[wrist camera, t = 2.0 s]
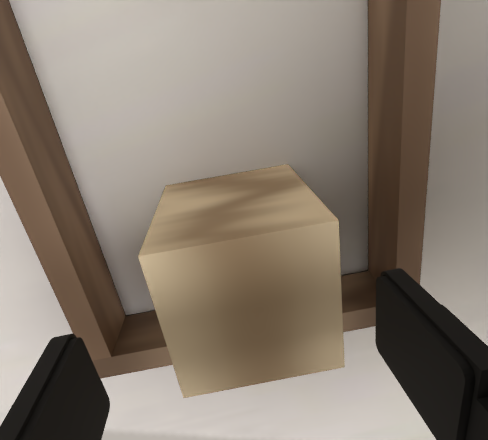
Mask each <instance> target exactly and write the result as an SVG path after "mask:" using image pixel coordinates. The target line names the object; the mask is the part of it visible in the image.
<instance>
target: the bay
mask: <svg viewBox="0 0 488 440" xmlns="http://www.w3.org/2000/svg"><path fill="white" fill-rule="evenodd" d="M440 6H441V0H368V271H365V272H360V273H354V274H349V275H344V276H341V292H342V318H343V332H346V331H352V330H357V329H362V328H367V327H373V326H376V279H377V277H380V276H381V272H383V271H387V270H392V269H397V268H401V269H403V270H404V271H405V272H406V273H407V274H408V275H409V276H410V277H412V278H413V279H414V280H415V281H416V282H417V283H418V284H419V285H420V274H421V261H422V247H423V234H424V221H425V207H426V194H427V180H428V167H429V153H430V140H431V126H432V113H433V100H434V86H435V73H436V59H437V46H438V32H439V19H440ZM0 176H1V178H2V181H3V183H4V185H5V187H6V189H7V191H8V194H9V196H10V198H11V200H12V202H13V204H14V206H15V209H16V211H17V213H18V215H19V217H20V219H21V222H22V224H23V226H24V228H25V230H26V232H27V235H28V237H29V239H30V241H31V243H32V245H33V247H34V250H35V252H36V254H37V256H38V258H39V260H40V263H41V265H42V267H43V269H44V271H45V273H46V276H47V278H48V280H49V282H50V284H51V286H52V289H53V291H54V293H55V295H56V297H57V299H58V301H59V304H60V306H61V308H62V310H63V312H64V314H65V317H66V319H67V321H68V323H69V325H70V327H71V330H72V332H73V334H74V335H76V337H77V338H78V337H81V338H82V339H83V341H84V343H85V346H86V348H87V350H88V352H89V355H90V357H91V359H92V361H93V364H94V366H95V368H96V370H97V373H98V375H99V377H100V378H105V377H110V376H116V375H121V374H126V373H131V372H137V371H142V370H147V369H152V368H158V367H163V366H168V365H173V363H172V360H171V357H170V354H169V351H168V348H167V345H166V342H165V339H164V336H163V332H162V329H161V326H160V323H159V320H158V317H157V314H156V311H150V312H144V313H139V314H133V315H128V316H125V313H124V310H123V308H122V305H121V302H120V300H119V297H118V294H117V292H116V289H115V286H114V284H113V281H112V278H111V275H110V273H109V270H108V267H107V265H106V262H105V259H104V257H103V254H102V251H101V249H100V246H99V243H98V240H97V238H96V235H95V232H94V230H93V227H92V224H91V222H90V219H89V216H88V213H87V211H86V208H85V205H84V203H83V200H82V197H81V195H80V192H79V189H78V187H77V184H76V181H75V178H74V176H73V173H72V170H71V168H70V165H69V162H68V160H67V157H66V154H65V152H64V149H63V146H62V143H61V141H60V138H59V135H58V133H57V130H56V127H55V125H54V122H53V119H52V116H51V114H50V111H49V108H48V106H47V103H46V100H45V98H44V95H43V92H42V90H41V87H40V84H39V81H38V79H37V76H36V73H35V71H34V68H33V65H32V63H31V60H30V57H29V54H28V52H27V49H26V46H25V44H24V41H23V38H22V36H21V33H20V30H19V28H18V25H17V22H16V19H15V17H14V14H13V11H12V9H11V6H10V3H9V1H8V0H0Z"/></svg>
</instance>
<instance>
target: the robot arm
mask: <svg viewBox="0 0 488 440" xmlns="http://www.w3.org/2000/svg"><path fill="white" fill-rule="evenodd" d="M376 346H377V349H378V351H379V353H380V355H381V356H382V358H383V359H384V361H385V362H386V364H387V365H388V367H389V368H390V370H391V371H392V373H393V374H394V376H395V377H396V379H397V380H398V382H399V383H400V385H401V386H402V388H403V390H404V391H405V393H406V394H407V396H408V397H409V399H410V400H411V402H412V403H413V405H414V406H415V408H416V409H417V411H418V412H419V414H420V415H421V417H422V418H423V420H424V421H425V423H426V425H427V426H428V428H429V429H430V431H431V432H432V434H433V435H434V437H435V438H436V440H488V346H487V345H486V344H485V343H484V342H483V341H481V340H480V339H479V338H478V337H477V336H476V335H475V334H474V333H473V332H472V331H471V330H470V329H469V328H467V327H466V326H465V325H464V324H463V323H462V322H461V321H460V320H459V319H458V318H457V317H456V316H454V315H453V314H452V313H451V312H450V311H449V310H448V309H447V308H446V307H444V306H443V305H440V304H439V303H438V302H437V301H436V300H435V299H434V298H433V297H432V296H431V295H430V294H429V293H428V292H427V291H425V290H424V289H423V288H422V287H421V286H420V285H419V284H418V283H417V282H416V281H415V280H414V279H413V278H412V277H410V276H409V275H408V274H407V273H406V272H405V271H404V270H403V269H401V268H397V269H392V270H387V271H383V272H381V276H380V277H377V279H376ZM109 408H110V402H109V397H108V395H107V393H106V390H105V388H104V386H103V384H102V381H101V379H100V377H99V375H98V373H97V370H96V368H95V366H94V364H93V361H92V359H91V357H90V355H89V352H88V350H87V348H86V346H85V343H84V341H83V339H82V338H81V337H78V338H77V337H76V335H74V334H69V335H64V336H59V337H54V338H52V339H51V340H50V341H49V343H48V345H47V347H46V348H45V350H44V352H43V354H42V355H41V357H40V359H39V361H38V362H37V364H36V366H35V367H34V369H33V371H32V373H31V374H30V376H29V378H28V380H27V381H26V383H25V385H24V386H23V388H22V390H21V392H20V393H19V395H18V397H17V399H16V400H15V402H14V404H13V405H12V407H11V409H10V411H9V412H8V414H7V416H6V418H5V419H4V421H3V423H2V424H1V426H0V440H101V438H102V435H103V431H104V428H105V424H106V420H107V417H108V413H109Z"/></svg>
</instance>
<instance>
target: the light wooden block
mask: <svg viewBox="0 0 488 440" xmlns="http://www.w3.org/2000/svg"><path fill="white" fill-rule="evenodd" d="M138 258H139V261H140V264H141V267H142V270H143V274H144V277H145V280H146V283H147V286H148V289H149V292H150V295H151V298H152V301H153V305H154V308H155V311H156V314H157V317H158V320H159V323H160V326H161V329H162V332H163V336H164V339H165V342H166V345H167V348H168V351H169V354H170V357H171V360H172V363H173V367H174V370H175V373H176V376H177V379H178V382H179V385H180V388H181V391H182V394H183V398H187V397H192V396H197V395H202V394H208V393H213V392H218V391H223V390H228V389H233V388H239V387H244V386H249V385H254V384H259V383H265V382H270V381H275V380H280V379H285V378H290V377H296V376H301V375H306V374H311V373H316V372H322V371H327V370H332V369H337V368H342V367H344V343H343V318H342V292H341V267H340V242H339V220H338V219H337V218H336V217H335V216H334V215H333V214H332V212H331V211H330V210H329V209H328V208H327V207H326V206H325V205H324V204H323V203H322V201H321V200H320V199H319V198H318V197H317V196H316V195H315V194H314V193H313V191H312V190H311V189H310V188H309V187H308V186H307V185H306V184H305V183H304V181H303V180H302V179H301V178H300V177H299V176H298V175H297V174H296V173H295V171H294V170H293V169H292V168H291V167H290V166H289V165H288V164H286V165H281V166H275V167H269V168H263V169H258V170H252V171H246V172H240V173H235V174H229V175H223V176H218V177H212V178H206V179H200V180H195V181H189V182H183V183H177V184H172V185H166V186H165V189H164V192H163V194H162V197H161V199H160V202H159V204H158V207H157V209H156V212H155V215H154V217H153V220H152V222H151V225H150V227H149V230H148V232H147V235H146V237H145V240H144V243H143V245H142V248H141V250H140V253H139V255H138Z"/></svg>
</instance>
